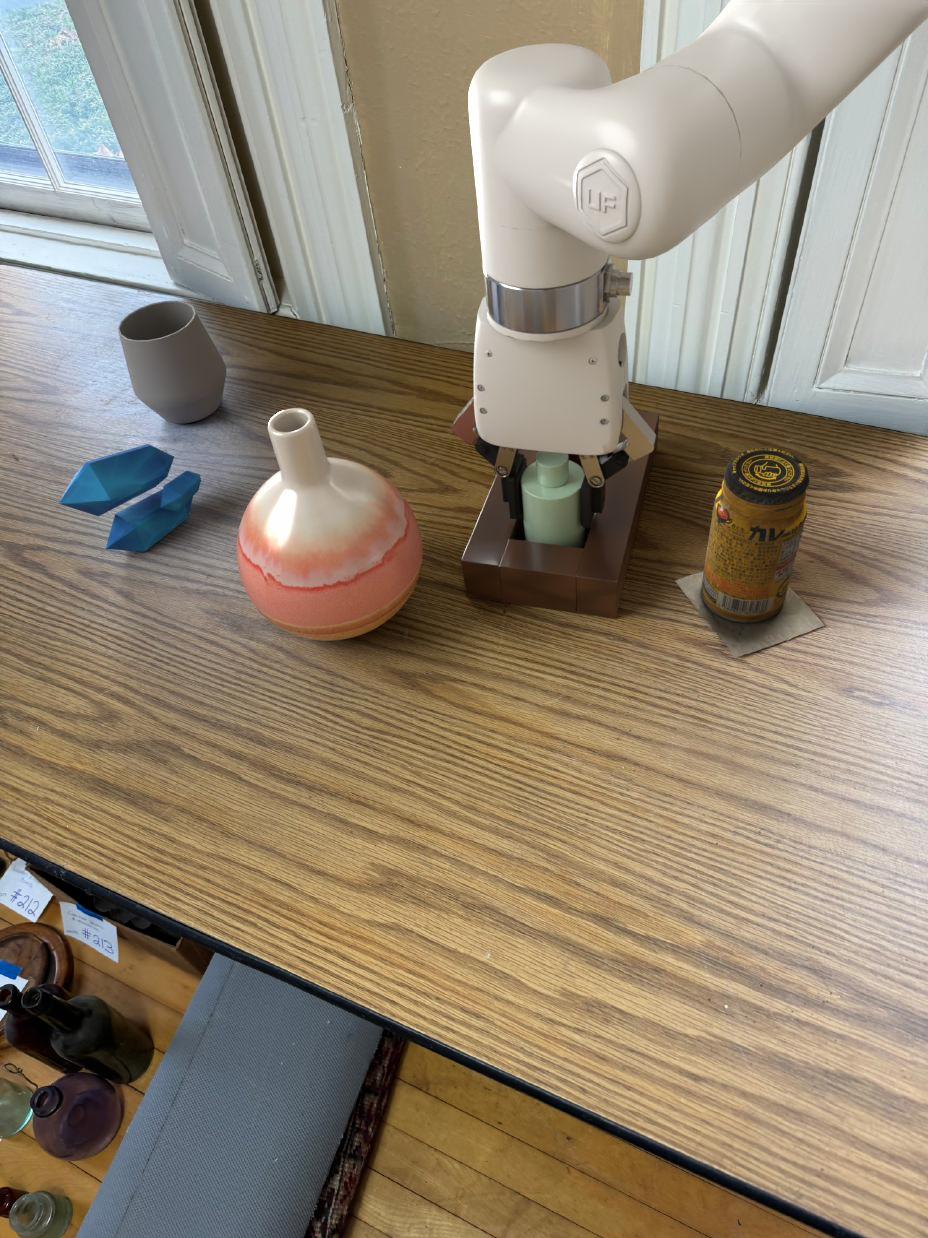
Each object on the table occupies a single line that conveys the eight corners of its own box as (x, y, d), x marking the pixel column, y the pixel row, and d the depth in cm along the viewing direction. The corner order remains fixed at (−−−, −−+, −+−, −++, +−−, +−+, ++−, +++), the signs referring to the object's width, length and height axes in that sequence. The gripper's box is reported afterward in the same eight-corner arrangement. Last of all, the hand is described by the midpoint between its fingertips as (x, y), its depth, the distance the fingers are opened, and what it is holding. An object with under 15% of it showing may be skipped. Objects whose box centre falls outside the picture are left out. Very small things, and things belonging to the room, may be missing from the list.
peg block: (656, 450, 77) (659, 412, 74) (615, 619, 64) (617, 582, 61) (528, 438, 80) (526, 401, 77) (466, 596, 67) (460, 560, 64)
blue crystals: (211, 443, 73) (83, 495, 65) (225, 529, 78) (108, 586, 71) (158, 416, 76) (31, 463, 69) (175, 501, 82) (59, 552, 74)
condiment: (757, 553, 67) (783, 426, 58) (824, 627, 61) (864, 499, 53) (674, 582, 66) (688, 458, 57) (734, 660, 60) (760, 535, 51)
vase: (465, 578, 69) (436, 389, 55) (362, 699, 62) (301, 516, 48) (335, 526, 74) (281, 344, 61) (227, 632, 67) (140, 452, 54)
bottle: (590, 538, 70) (591, 438, 63) (578, 579, 67) (577, 480, 60) (533, 531, 71) (527, 433, 64) (519, 571, 68) (511, 473, 61)
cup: (248, 382, 92) (219, 294, 84) (220, 435, 85) (185, 345, 78) (167, 383, 93) (131, 296, 86) (133, 435, 87) (91, 347, 80)
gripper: (695, 263, 52) (672, 492, 66) (434, 253, 57) (463, 469, 70) (679, 328, 48) (658, 560, 61) (396, 312, 52) (435, 531, 66)
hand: (554, 509), depth 66 cm, fingers closed on bottle, 4 cm apart
